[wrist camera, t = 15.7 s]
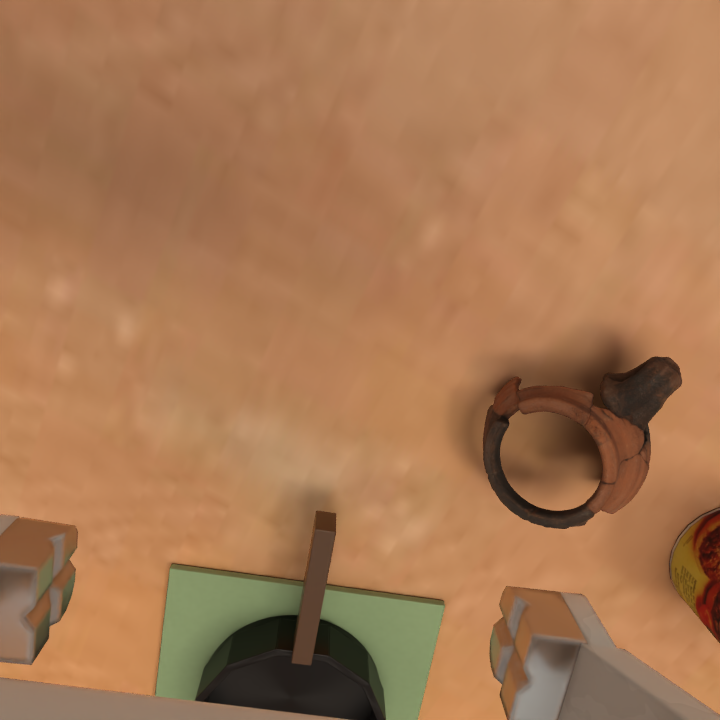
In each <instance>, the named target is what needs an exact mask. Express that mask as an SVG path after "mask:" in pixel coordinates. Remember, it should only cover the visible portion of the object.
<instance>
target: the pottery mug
mask: <svg viewBox="0 0 720 720" xmlns="http://www.w3.org/2000/svg"><path fill="white" fill-rule="evenodd" d="M520 383H521V379H520V378H519V377H514V378H513V379H512V380H510V381H509V382H508V383H507V384H506V385H505V386H504V387H503V388H502V389H501V390H500V392H499V393H498V394H497V396H496V397H495V400H494V404H493V405H491V406H490V408H489V409H488V412H487V417H486V421H485V427H484V436H483V451H484V452H483V460H484V465H485V469H486V473H487V474H488V479H489V482H490V484H491V487H492V489H493V490H494V491H495V493H496V495H497V496H498V498H499V499H500V501H501V502H502V503H503V504H504V505H505V506H506V507H507V508H508V509H509V510H510V511H512V512H513V513H514V514H516V515H518V516H519V517H520V518H522V519H524V520H528V521H530V522H531V523H534V524H537V525H542V526H544V527H551V528H559V529H567V528H569V527H574V526H583V525H585V524H586V522H587V521H588V520H589V519H591V518H592V517H593V516H594V514H596V513H597V512H599V511H600V510H602V511H605V512H607V513H610V514H614V513H615V512H617V511H618V510H620V509H621V508H622V507H624V506H625V505H626V504H628V503H629V502H630V501H631V500H632V499H633V497H634V496H635V495H636V494H637V492H638V491H639V489H640V488H641V486H642V484H643V483H644V481H645V478H646V476H647V473H648V470H649V462H650V454H651V442H650V433H649V427H648V423H649V421H650V420H651V419H652V417H653V416H654V415H655V414H656V413H657V412H658V411H659V410H660V409H661V407H662V406H663V404H664V402H665V401H666V399H667V398H668V397H669V396H670V395H671V394H672V393H673V392H674V391H675V390H676V389H678V388H679V387H680V386H681V384H682V378H681V373H680V368H679V366H678V365H677V364H676V363H675V362H674V361H673V360H672V359H671V358H668V357H652V358H650V359H649V360H647V361H646V362H644V363H643V364H641V365H639V366H638V367H636V368H634V369H633V370H631V371H628V372H626V373H617V374H614V373H607V374H604V377H603V381H602V382H601V385H600V395H601V398H602V401H603V403H604V405H605V406H606V407H607V408H608V409H605V408H599V407H596V406H594V405H593V396H594V395H593V394H592V393H590V392H587V391H582V390H578V389H571V388H568V387H562V386H533V387H528V388H524V389H521V390H519V385H520ZM519 410H520V411H521V412H522V413H523V414H529V413H533V412H543V411H548V412H554V413H558V414H561V415H564V416H566V417H568V418H570V419H572V420H574V421H576V422H577V423H579V424H580V425H582V426H584V427H585V429H586V430H587V431H588V432H589V434H590V435H591V436H592V438H593V439H594V441H595V443H596V445H597V447H598V449H599V452H600V456H601V460H602V476H601V480H600V483H599V486H598V488H597V489H596V491H595V493H594V494H593V495H592V496H591V497H590V498H589V499H588V500H587V501H586V503H584V504H583V505H581V506H579V507H577V508H574V509H570V510H564V511H552V510H546V509H542V508H539V507H536V506H534V505H533V504H530V503H529V502H527V501H526V500H525V499H523V498H522V497H521V496H520V495H518V494H517V493H516V492H515V491H514V489H513V488H512V487H511V486H510V484H509V483H508V481H507V479H506V477H505V475H504V473H503V470H502V467H501V460H500V445H501V441H502V438H503V435H504V433H505V431H506V430H507V428H508V426H509V420H508V419H509V418H510V417H511V416H512V415H514V414H515V413H516V412H517V411H519Z"/></svg>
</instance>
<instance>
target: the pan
mask: <svg viewBox="0 0 720 720" xmlns="http://www.w3.org/2000/svg"><path fill="white" fill-rule="evenodd" d="M335 535H336V513H330V512H323V511H316V515H315V520H314V526H313V532H312V538H311V543H310V549H309V555H308V560H307V566H306V572H305V577H304V583H303V589H302V594H301V600H300V606H299V611H298V615H281V616H275V617H269V618H265V619H261V620H258V621H255V622H253V623H250V624H248V625H246V626H244V627H242V628H241V629H239V630H237V631H236V632H234V633H233V634H232V635H230V636H229V637H228V638H227V639H226V640H225V641H224V642H223V643H222V644H220V646H219V647H218V648H217V650H216V651H215V652H214V654H213V655H212V657H211V659H210V660H209V662H208V663H207V664H206V665H205V667H204V669H203V673H202V677H201V680H200V684H199V687H198V691H197V695H196V698H195V701H200V702H208V703H217V704H225V705H233V706H241V707H250V708H258V709H266V710H275V711H283V712H291V713H300V714H308V715H316V716H324V717H333V718H341V719H349V720H386V712H385V701H384V689H383V687H382V684H381V682H380V680H379V674H378V671H377V668H376V665H375V663H374V661H373V659H372V657H371V655H370V654H369V652H368V651H367V650H366V648H365V647H364V646H363V645H362V644H361V643H360V642H359V641H358V640H357V639H356V638H355V637H354V636H353V635H351V634H350V633H349V632H347V631H346V630H344V629H342V628H341V627H339V626H337V625H335V624H332V623H330V622H328V621H325V620H321V619H320V615H321V610H322V605H323V599H324V594H325V589H326V583H327V578H328V573H329V567H330V562H331V556H332V551H333V546H334V540H335Z"/></svg>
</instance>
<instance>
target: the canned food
mask: <svg viewBox="0 0 720 720" xmlns="http://www.w3.org/2000/svg"><path fill="white" fill-rule="evenodd" d="M669 567H670V577H671V580H672V582H673V584H674V587H675V589H676V591H677V592H678V593H679V594H680V596H681V597H682V598H683V599H684V600H685V602H686V603H687V604H688V605H689V606H690V608H691V609H692V610H693V611H694V613H695V614H696V615H697V616H698V617H699V619H700V620H701V621H702V622H703V624H704V625H705V626H706V627H707V628H708V630H709V631H710V632H711V633H712V635H713V636H714V637H715V638H716V639H717V641H718V642H719V643H720V508H718V509H715V510H713V511H711V512H708V513H706V514H704V515H702V516H700V517H699V518H698V519H696V520H695V521H694V522H692V523H691V524H690V525H688V527H687V528H686V529H685V530H684V531H683V533H682V534H681V535H680V536H679V537H678V539H677V541H676V543H675V545H674V547H673V549H672V553H671V558H670V563H669Z"/></svg>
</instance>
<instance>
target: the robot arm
mask: <svg viewBox="0 0 720 720" xmlns="http://www.w3.org/2000/svg"><path fill="white" fill-rule="evenodd" d="M77 541H78V531H77V528H76V526H74V525H68V524H62V523H55V522H49V521H43V520H36V519H30V518H24V517H21V518H20V517H19V516H12V515H3V514H0V662H6V663H17V664H27V665H32V663H33V662H34V660H35V659H36V657H37V655H38V654H39V652H40V651H41V649H42V648H43V646H44V645H45V643H46V642H47V640H48V638H49V626H51V625H53V624H55V623H57V622H59V621H60V619H61V618H62V616H63V614H64V613H65V611H66V609H67V606H68V604H69V601H70V598H71V596H72V592H73V587H74V582H75V571H76V569H75V567H74V566H73V564H72V563H71V561H70V560H69V559H70V557H71V556H72V554H73V553H74V551H75V550H76V549H77ZM499 606H500V609H501V611H502V614H503V617H502V618H501V619H500V620H499V621H498V622H497V623H495V624H494V626H493V631H492V635H491V640H490V663H491V668H492V672H493V675H494V677H495V678H496V679H497V680H498V681H499V682H500V683H501V684H502V688H501V691H500V698H501V701H502V704H503V707H504V710H505V713H506V717H507V720H720V715H719V714H717V713H716V712H715V711H713V710H712V709H710V708H709V707H707V706H706V705H704V704H703V703H701V702H700V701H699V700H697V699H696V698H694V697H693V696H691V695H690V694H688V693H687V692H686V691H684V690H683V689H681V688H680V687H678V686H677V685H675V684H674V683H673V682H671V681H670V680H668V679H667V678H665V677H664V676H662V675H661V674H660V673H658V672H657V671H655V670H654V669H652V668H651V667H649V666H648V665H647V664H645V663H644V662H642V661H641V660H639V659H638V658H636V657H635V656H634V655H632V654H631V653H629V652H628V651H626V650H625V649H619V648H616V646H615V644H614V643H613V641H612V639H611V638H610V636H609V634H608V633H607V631H606V629H605V628H604V626H603V624H602V623H601V621H600V619H599V618H598V616H597V614H596V613H595V611H594V609H593V608H592V606H591V604H590V603H589V601H588V599H587V598H586V597H585V596H584V595H582V594H577V593H567V592H556V591H547V590H538V589H529V588H520V587H511V586H506V587H505V589H504V591H503V593H502V596H501V600H500V603H499ZM0 720H349V719H341V718H333V717H324V716H316V715H308V714H300V713H291V712H283V711H275V710H266V709H258V708H250V707H241V706H233V705H225V704H217V703H208V702H200V701H192V700H183V699H175V698H167V697H158V696H150V695H142V694H134V693H125V692H117V691H109V690H100V689H92V688H84V687H75V686H67V685H59V684H51V683H42V682H34V681H26V680H17V679H9V678H1V677H0Z"/></svg>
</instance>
